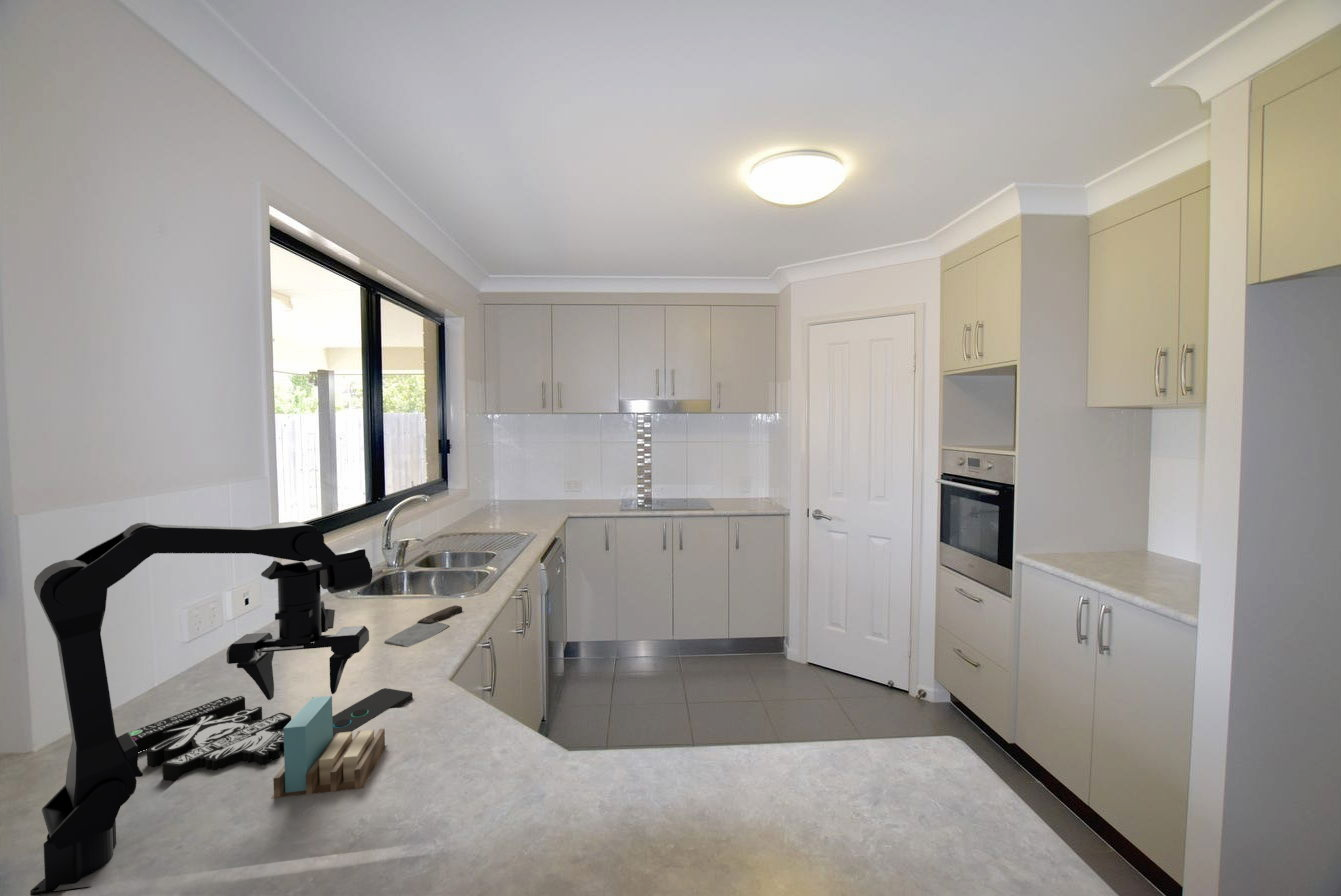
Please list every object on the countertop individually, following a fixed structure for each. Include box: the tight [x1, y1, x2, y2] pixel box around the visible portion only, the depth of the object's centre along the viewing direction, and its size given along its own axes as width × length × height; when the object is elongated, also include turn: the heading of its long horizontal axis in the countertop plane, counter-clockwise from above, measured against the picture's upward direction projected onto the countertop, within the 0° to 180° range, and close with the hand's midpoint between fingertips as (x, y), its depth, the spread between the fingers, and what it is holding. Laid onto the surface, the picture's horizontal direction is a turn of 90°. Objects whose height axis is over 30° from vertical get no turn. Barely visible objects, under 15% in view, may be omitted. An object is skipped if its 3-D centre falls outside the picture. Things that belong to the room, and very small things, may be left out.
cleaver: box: [384, 605, 463, 648], centre depth 161 cm, size 29×10×2 cm, turn 167°
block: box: [283, 695, 333, 793], centre depth 91 cm, size 10×3×10 cm, turn 11°
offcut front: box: [343, 729, 375, 782], centre depth 92 cm, size 8×2×4 cm, turn 11°
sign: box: [128, 695, 292, 782], centre depth 100 cm, size 19×3×30 cm
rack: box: [271, 728, 388, 799], centre depth 92 cm, size 12×13×4 cm
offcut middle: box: [319, 731, 353, 785], centre depth 92 cm, size 8×2×4 cm, turn 11°
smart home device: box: [332, 687, 413, 738], centre depth 110 cm, size 8×2×20 cm
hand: (302, 695), depth 91 cm, fingers open, 9 cm apart
